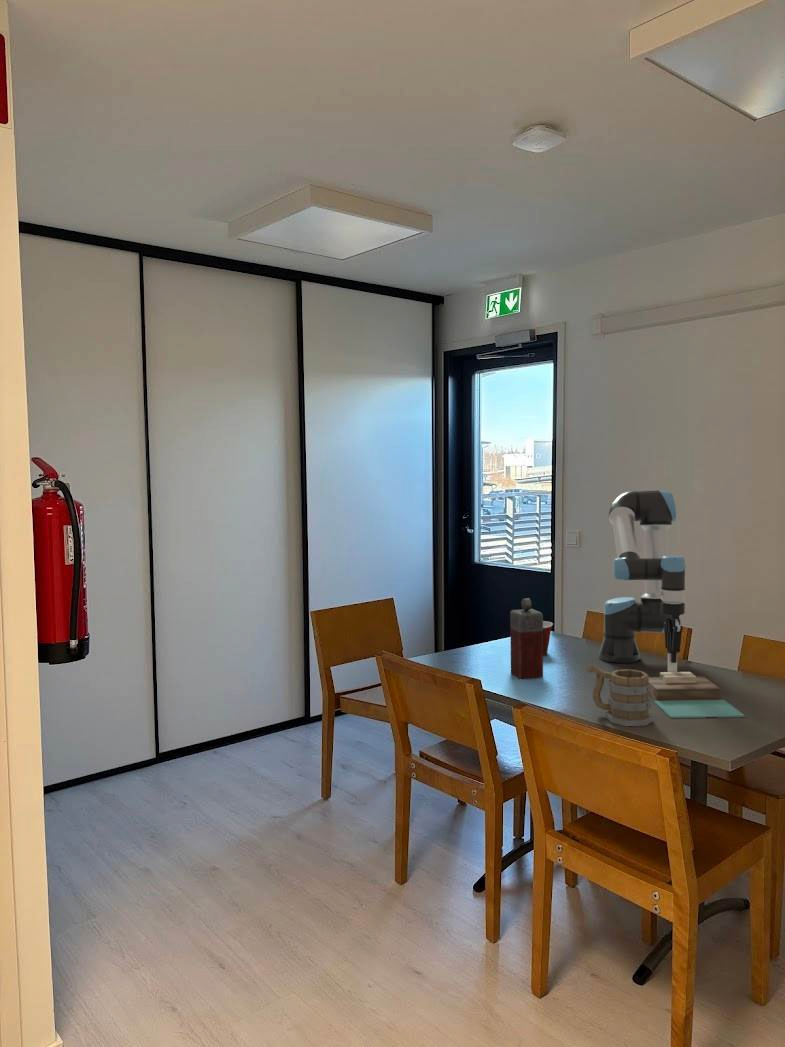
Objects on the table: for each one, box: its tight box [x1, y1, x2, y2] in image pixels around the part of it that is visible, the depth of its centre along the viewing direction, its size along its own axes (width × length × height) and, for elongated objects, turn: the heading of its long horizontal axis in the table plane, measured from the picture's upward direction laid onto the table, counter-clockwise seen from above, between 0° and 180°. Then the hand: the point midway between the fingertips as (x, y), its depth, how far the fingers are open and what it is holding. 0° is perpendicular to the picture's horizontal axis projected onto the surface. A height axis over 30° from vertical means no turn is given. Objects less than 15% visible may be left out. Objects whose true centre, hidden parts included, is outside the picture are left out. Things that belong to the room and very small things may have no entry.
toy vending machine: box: [509, 597, 548, 680], centre depth 294 cm, size 9×11×28 cm
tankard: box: [585, 664, 654, 728], centre depth 245 cm, size 20×13×15 cm, turn 48°
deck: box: [648, 676, 721, 701], centre depth 267 cm, size 14×20×4 cm
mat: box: [653, 699, 746, 719], centre depth 252 cm, size 16×22×1 cm
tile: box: [659, 671, 697, 683], centre depth 270 cm, size 6×10×2 cm, turn 89°
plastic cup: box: [543, 620, 554, 652], centre depth 327 cm, size 11×11×12 cm
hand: (672, 671), depth 275 cm, fingers closed
